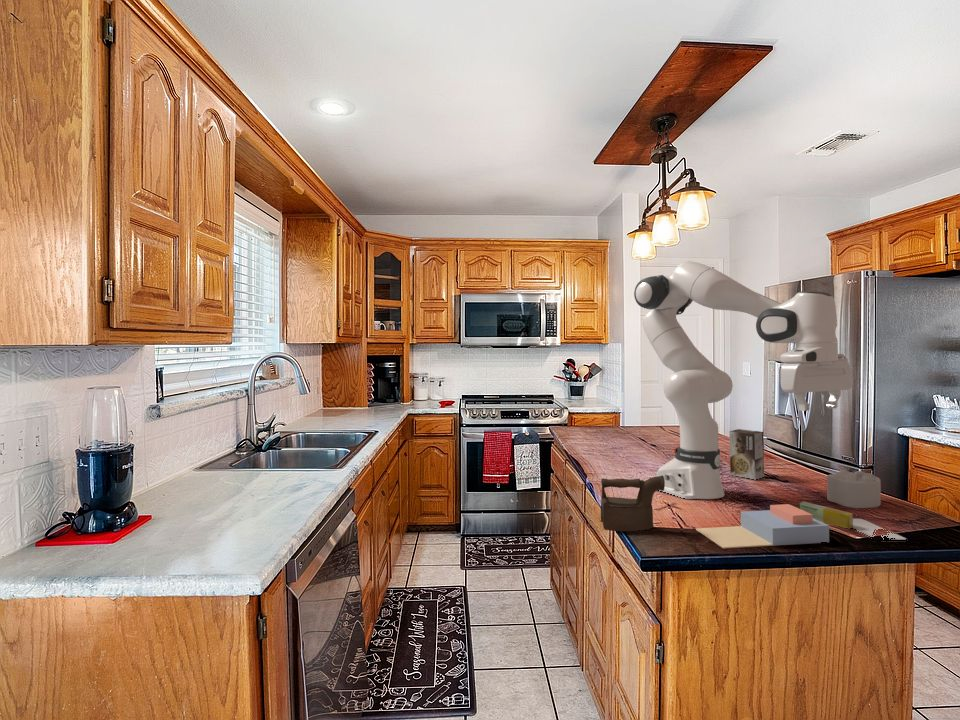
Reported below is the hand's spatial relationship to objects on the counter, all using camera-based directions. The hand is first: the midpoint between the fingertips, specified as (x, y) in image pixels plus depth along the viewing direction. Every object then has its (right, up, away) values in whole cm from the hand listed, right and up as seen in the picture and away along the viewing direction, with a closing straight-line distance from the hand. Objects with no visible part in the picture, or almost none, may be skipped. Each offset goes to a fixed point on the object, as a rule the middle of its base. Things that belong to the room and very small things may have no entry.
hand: (818, 409), depth 126 cm
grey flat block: (-11, -30, -4) cm, 32 cm away
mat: (-24, -30, -5) cm, 39 cm away
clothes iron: (-47, -31, +3) cm, 56 cm away
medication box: (+5, -30, +4) cm, 31 cm away
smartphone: (+12, -30, -2) cm, 32 cm away
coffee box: (+9, -29, +50) cm, 58 cm away
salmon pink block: (-9, -26, -4) cm, 28 cm away
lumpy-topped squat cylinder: (+25, -29, +20) cm, 43 cm away
